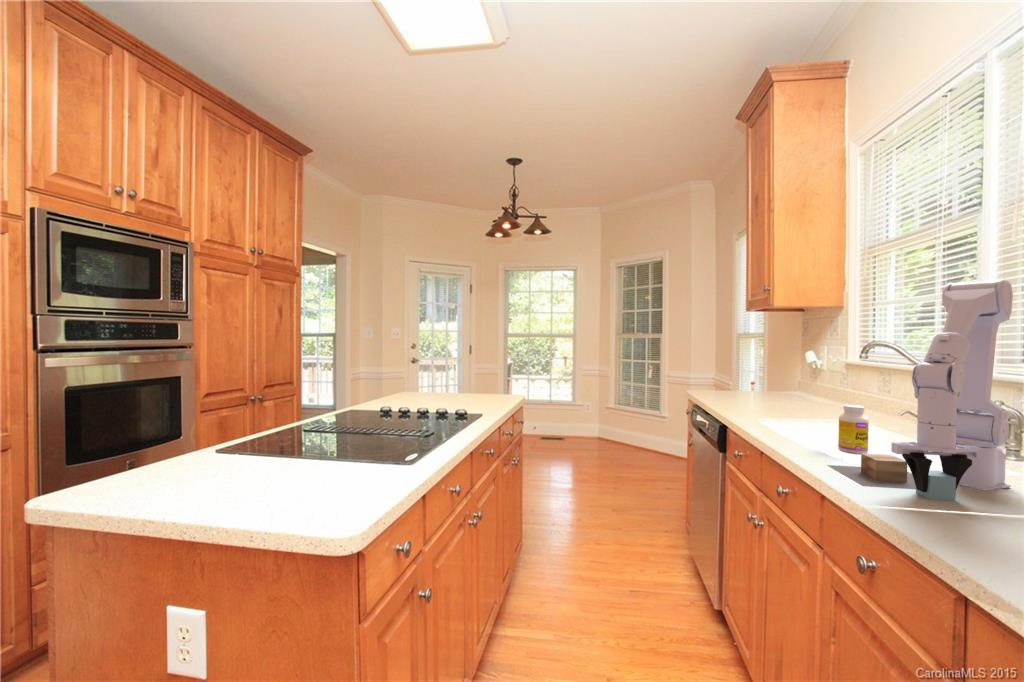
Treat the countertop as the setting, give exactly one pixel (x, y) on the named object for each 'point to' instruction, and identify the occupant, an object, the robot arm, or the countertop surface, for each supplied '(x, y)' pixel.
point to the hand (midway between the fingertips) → (935, 491)
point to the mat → (865, 480)
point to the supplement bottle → (853, 430)
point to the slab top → (884, 462)
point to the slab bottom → (884, 474)
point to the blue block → (940, 487)
